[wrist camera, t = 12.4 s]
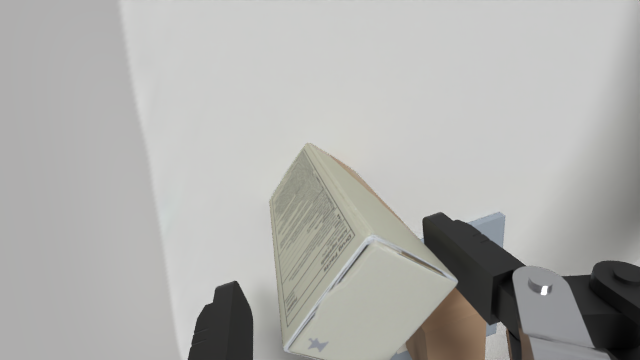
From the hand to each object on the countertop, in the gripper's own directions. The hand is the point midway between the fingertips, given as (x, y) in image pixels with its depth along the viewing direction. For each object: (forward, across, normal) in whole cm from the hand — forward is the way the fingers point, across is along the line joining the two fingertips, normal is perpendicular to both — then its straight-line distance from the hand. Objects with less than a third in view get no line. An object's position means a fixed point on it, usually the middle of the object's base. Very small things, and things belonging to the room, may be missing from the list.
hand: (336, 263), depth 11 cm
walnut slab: (+8, -8, +16) cm, 19 cm away
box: (+8, -1, 0) cm, 9 cm away
